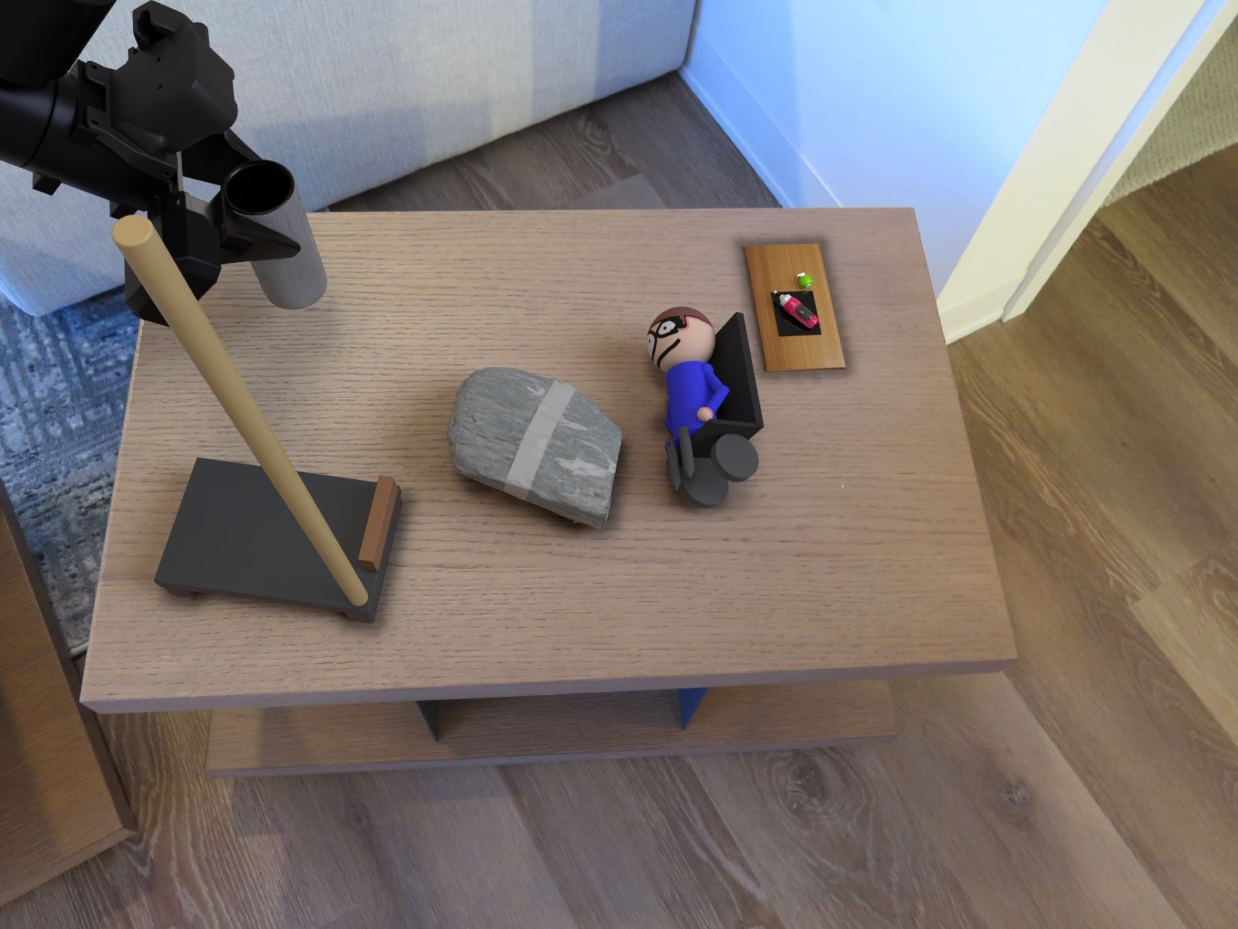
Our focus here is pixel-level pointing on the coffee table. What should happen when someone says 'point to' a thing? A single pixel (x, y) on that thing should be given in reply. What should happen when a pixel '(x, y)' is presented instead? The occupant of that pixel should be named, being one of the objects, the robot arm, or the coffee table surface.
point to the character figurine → (707, 402)
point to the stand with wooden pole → (260, 485)
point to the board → (794, 308)
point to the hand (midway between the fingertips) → (294, 222)
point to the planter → (278, 205)
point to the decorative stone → (535, 442)
